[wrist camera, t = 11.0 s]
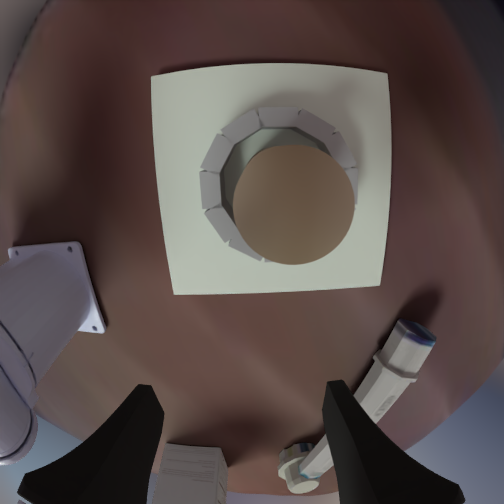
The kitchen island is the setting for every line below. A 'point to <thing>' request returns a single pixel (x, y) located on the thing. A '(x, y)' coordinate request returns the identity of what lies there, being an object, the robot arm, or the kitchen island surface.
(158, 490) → the supplement box
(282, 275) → the collar plate
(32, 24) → the kitchen island surface
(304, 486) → the white handheld device
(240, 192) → the maple peg
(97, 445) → the robot arm
